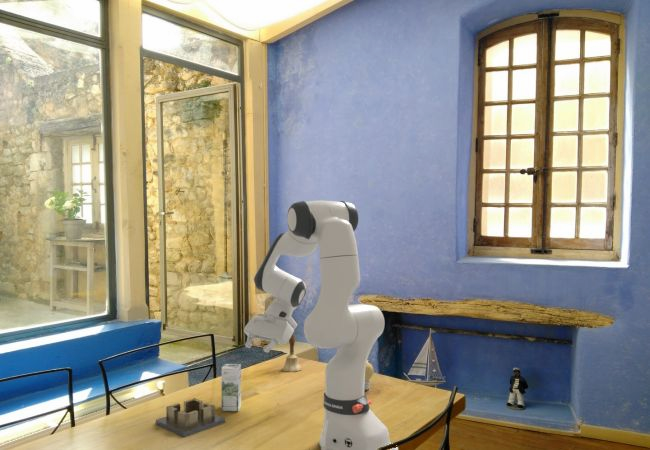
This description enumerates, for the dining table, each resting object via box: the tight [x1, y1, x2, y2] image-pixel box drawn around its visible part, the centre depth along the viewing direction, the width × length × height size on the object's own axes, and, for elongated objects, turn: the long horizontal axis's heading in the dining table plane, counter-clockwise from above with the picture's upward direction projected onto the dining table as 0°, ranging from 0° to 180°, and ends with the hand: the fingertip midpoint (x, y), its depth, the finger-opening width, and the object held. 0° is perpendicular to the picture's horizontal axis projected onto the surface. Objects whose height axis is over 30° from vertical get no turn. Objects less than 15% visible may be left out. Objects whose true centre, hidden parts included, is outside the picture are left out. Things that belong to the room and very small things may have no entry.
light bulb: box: [364, 361, 375, 391], centre depth 197 cm, size 6×6×10 cm
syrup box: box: [221, 363, 242, 413], centre depth 176 cm, size 6×6×14 cm
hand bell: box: [281, 331, 303, 373], centre depth 222 cm, size 8×8×16 cm
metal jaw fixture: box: [155, 397, 226, 438], centre depth 164 cm, size 15×15×5 cm
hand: (256, 349), depth 184 cm, fingers open, 8 cm apart
